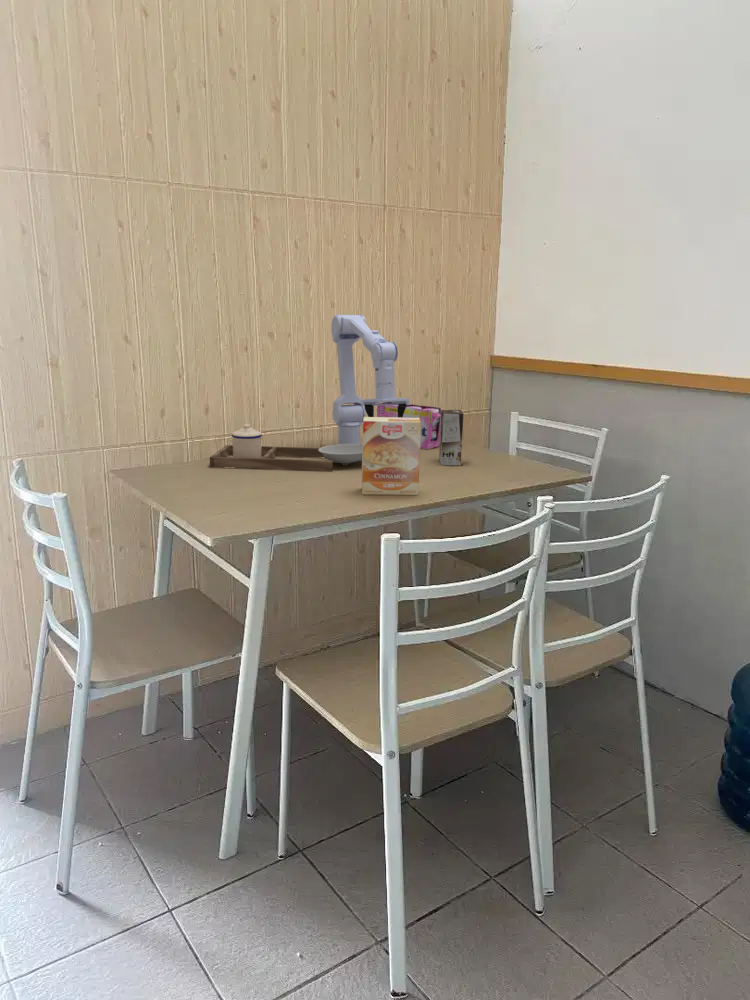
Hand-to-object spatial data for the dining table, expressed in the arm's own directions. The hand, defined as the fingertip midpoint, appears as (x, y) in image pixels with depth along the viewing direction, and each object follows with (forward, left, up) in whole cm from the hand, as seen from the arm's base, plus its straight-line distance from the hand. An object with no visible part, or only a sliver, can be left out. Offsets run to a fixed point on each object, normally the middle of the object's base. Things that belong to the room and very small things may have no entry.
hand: (386, 429), depth 224 cm
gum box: (-39, +6, -12) cm, 41 cm away
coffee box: (-10, +20, -12) cm, 25 cm away
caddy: (-2, -33, -11) cm, 35 cm away
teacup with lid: (-2, -43, -12) cm, 45 cm away
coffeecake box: (+29, +3, -12) cm, 32 cm away
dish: (-2, -12, -12) cm, 17 cm away
